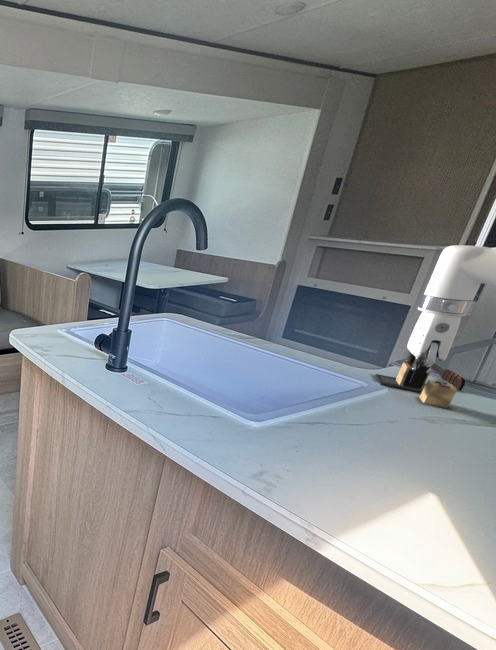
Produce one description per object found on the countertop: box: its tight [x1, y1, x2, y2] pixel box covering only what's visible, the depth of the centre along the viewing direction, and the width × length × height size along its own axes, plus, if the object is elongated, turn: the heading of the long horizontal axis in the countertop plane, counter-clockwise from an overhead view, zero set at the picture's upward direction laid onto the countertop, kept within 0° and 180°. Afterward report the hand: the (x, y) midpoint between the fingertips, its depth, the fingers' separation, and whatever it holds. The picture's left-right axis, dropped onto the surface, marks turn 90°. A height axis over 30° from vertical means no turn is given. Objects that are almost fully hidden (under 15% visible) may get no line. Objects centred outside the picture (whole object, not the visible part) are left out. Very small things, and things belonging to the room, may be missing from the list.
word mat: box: [375, 373, 427, 394], centre depth 107 cm, size 11×8×1 cm
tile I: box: [418, 379, 458, 409], centre depth 97 cm, size 4×4×5 cm
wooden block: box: [395, 361, 432, 389], centre depth 98 cm, size 4×4×5 cm
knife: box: [430, 363, 466, 392], centre depth 112 cm, size 17×1×3 cm, turn 159°
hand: (409, 383), depth 99 cm, fingers closed on wooden block, 4 cm apart
